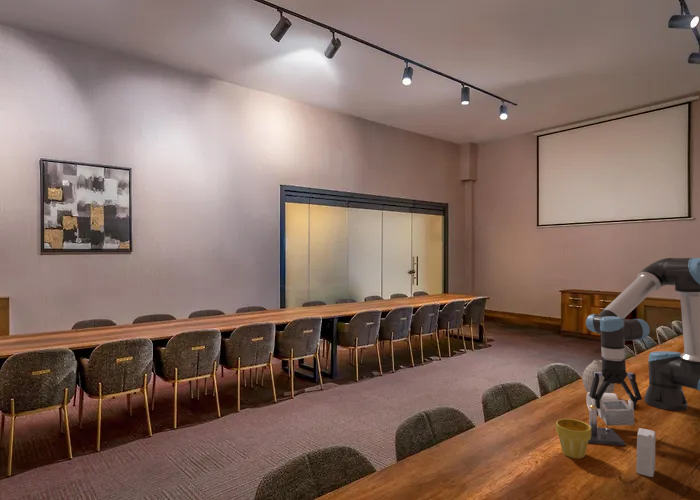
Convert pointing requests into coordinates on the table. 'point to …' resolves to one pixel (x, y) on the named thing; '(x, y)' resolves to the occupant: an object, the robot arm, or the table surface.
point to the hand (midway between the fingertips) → (616, 417)
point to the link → (617, 413)
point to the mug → (605, 397)
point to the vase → (588, 377)
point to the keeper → (602, 431)
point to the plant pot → (573, 437)
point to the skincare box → (646, 452)
